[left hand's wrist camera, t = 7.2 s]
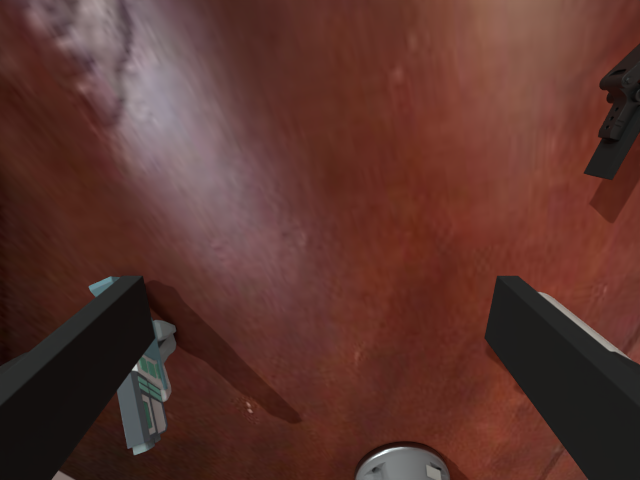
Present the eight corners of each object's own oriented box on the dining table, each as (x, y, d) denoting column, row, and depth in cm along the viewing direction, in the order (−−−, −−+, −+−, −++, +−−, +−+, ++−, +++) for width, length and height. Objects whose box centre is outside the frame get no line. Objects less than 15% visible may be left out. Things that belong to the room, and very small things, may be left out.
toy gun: (179, 428, 44) (117, 462, 34) (148, 289, 49) (86, 285, 39) (203, 419, 43) (148, 451, 34) (169, 279, 48) (112, 273, 39)
